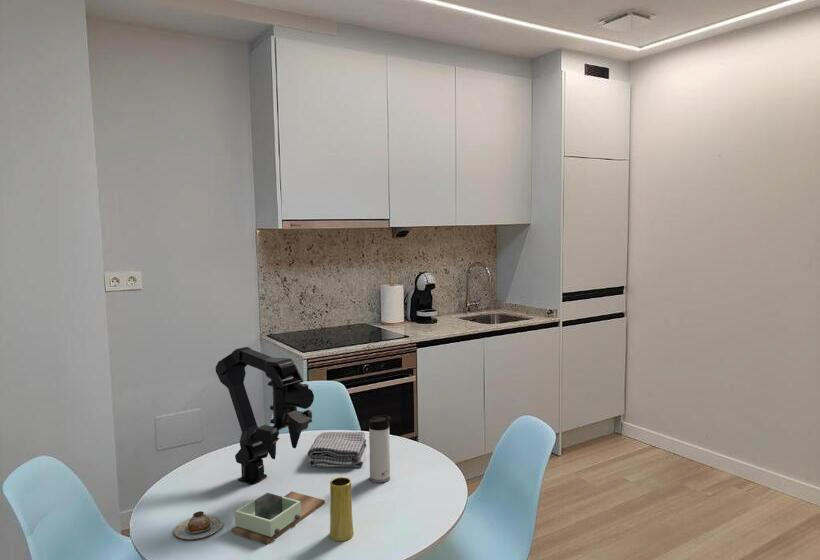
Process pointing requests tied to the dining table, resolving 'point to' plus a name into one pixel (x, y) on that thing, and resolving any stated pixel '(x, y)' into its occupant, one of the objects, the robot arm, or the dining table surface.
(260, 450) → the robot arm
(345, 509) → the vase
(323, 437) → the towel
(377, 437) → the travel mug
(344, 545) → the dining table surface
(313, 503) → the track
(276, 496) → the block
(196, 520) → the pastry
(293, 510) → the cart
